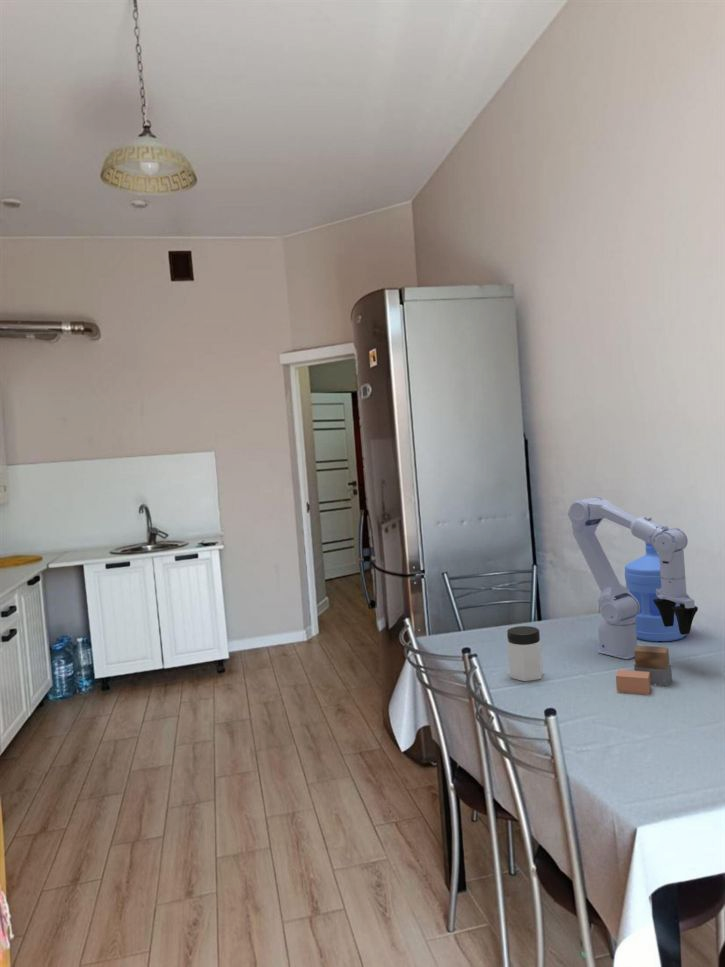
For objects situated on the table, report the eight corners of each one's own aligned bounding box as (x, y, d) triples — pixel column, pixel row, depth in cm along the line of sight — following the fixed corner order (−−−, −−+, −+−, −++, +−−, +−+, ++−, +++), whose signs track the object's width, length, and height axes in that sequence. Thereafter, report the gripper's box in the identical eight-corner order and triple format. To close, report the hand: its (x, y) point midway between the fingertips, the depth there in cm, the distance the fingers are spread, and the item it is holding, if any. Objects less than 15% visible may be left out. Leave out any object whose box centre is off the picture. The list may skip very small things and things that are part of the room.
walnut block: (635, 667, 160) (634, 650, 159) (638, 661, 164) (637, 645, 163) (667, 669, 156) (666, 653, 156) (669, 663, 160) (668, 647, 160)
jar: (513, 669, 177) (509, 625, 177) (544, 670, 174) (541, 625, 174) (508, 681, 169) (504, 634, 168) (540, 682, 166) (536, 635, 165)
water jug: (643, 625, 207) (636, 536, 206) (695, 631, 195) (688, 538, 194) (619, 637, 196) (612, 544, 195) (673, 645, 185) (666, 546, 183)
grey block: (635, 681, 161) (634, 665, 161) (643, 676, 164) (642, 660, 164) (663, 687, 156) (662, 670, 156) (672, 681, 159) (671, 665, 159)
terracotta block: (617, 692, 155) (615, 675, 155) (619, 686, 159) (618, 669, 159) (649, 695, 152) (647, 678, 152) (650, 688, 156) (649, 671, 156)
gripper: (643, 573, 174) (647, 624, 175) (673, 584, 160) (677, 639, 160) (669, 571, 175) (672, 621, 175) (701, 581, 160) (704, 636, 161)
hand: (676, 629), depth 168 cm, fingers open, 7 cm apart
